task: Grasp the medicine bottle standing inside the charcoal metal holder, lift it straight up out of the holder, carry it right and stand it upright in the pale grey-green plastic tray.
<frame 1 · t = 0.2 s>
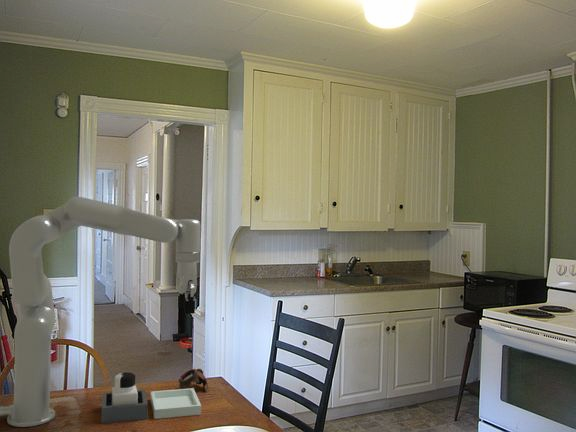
hand: (186, 310, 165), 31 cm above the table, tool pointing down, fingers open, 9 cm apart
holder: (124, 412, 157), on the table
tray: (174, 407, 163), on the table
pottery mug: (194, 390, 180), on the table
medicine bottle: (124, 413, 157), resting in holder
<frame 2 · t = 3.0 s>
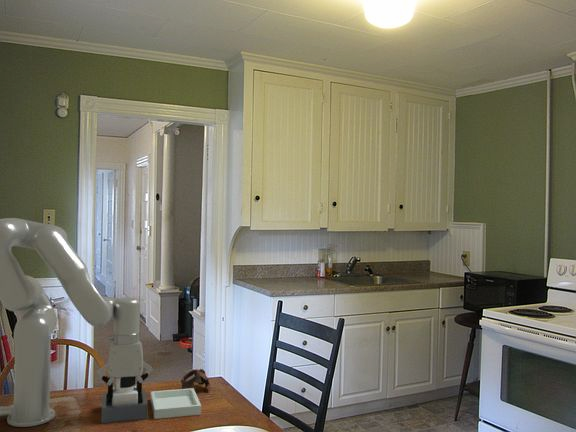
hand: (124, 395, 157), 5 cm above the table, tool pointing down, fingers closed on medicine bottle, 7 cm apart
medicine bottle: (124, 413, 158), resting in holder, touching gripper
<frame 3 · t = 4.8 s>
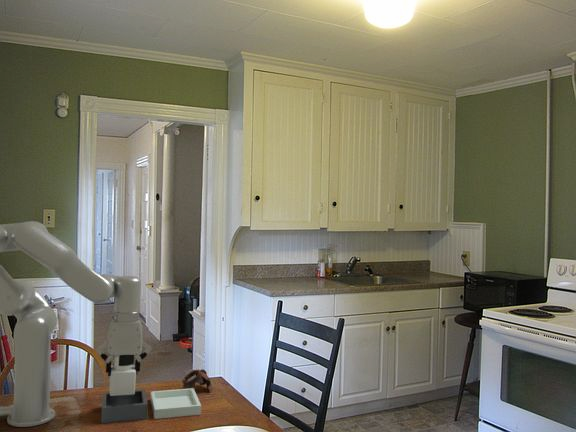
hand: (122, 373, 157), 12 cm above the table, tool pointing down, fingers closed on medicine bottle, 7 cm apart
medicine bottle: (121, 392, 157), point 6 cm above the table, touching gripper
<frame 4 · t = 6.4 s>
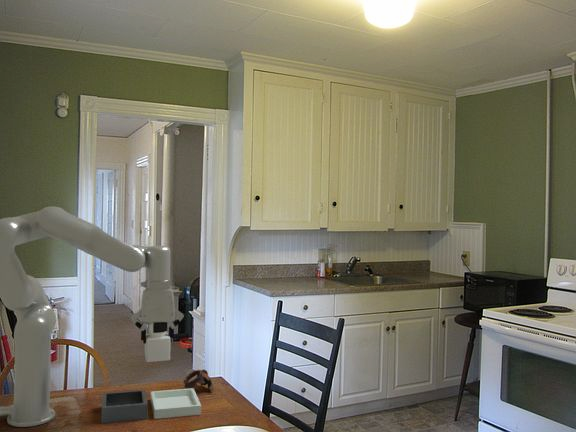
hand: (157, 341, 161), 21 cm above the table, tool pointing down, fingers closed on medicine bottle, 7 cm apart
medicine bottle: (157, 358, 161), point 16 cm above the table, touching gripper
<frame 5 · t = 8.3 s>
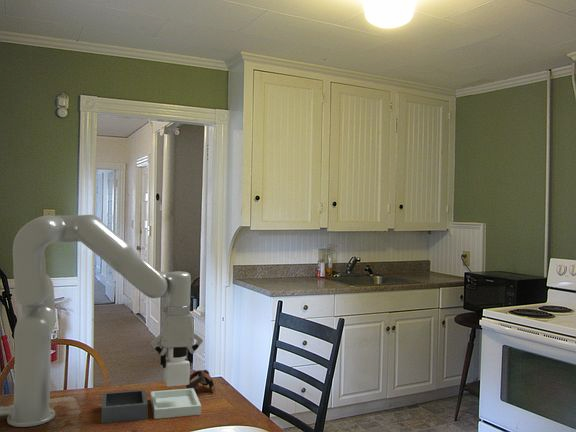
hand: (176, 365, 163), 13 cm above the table, tool pointing down, fingers closed on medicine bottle, 7 cm apart
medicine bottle: (176, 382, 163), point 8 cm above the table, touching gripper
when the fingers open (7 cm above the table, at t = 9.9 s): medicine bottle drops 1 cm, resting on tray.
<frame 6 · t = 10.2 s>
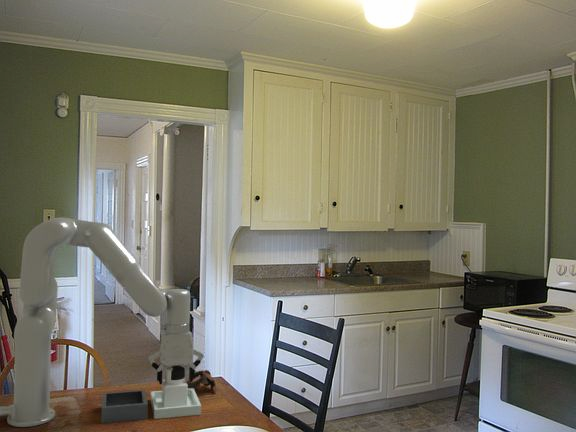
hand: (175, 381, 163), 8 cm above the table, tool pointing down, fingers open, 9 cm apart
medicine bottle: (174, 405, 163), point 1 cm above the table, touching tray
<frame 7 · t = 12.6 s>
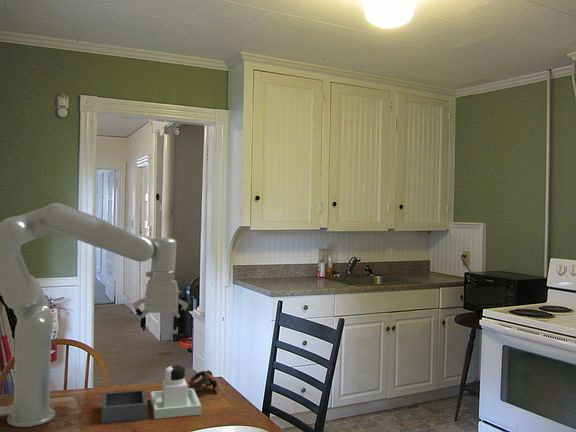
hand: (159, 329, 164), 24 cm above the table, tool pointing down, fingers open, 9 cm apart
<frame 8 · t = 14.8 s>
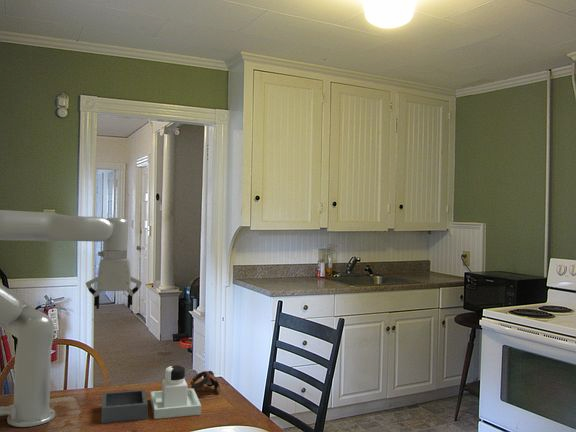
hand: (113, 307, 167), 30 cm above the table, tool pointing down, fingers open, 9 cm apart
at the end: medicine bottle inside the target area on the tray (0.3 cm from its centre), point 0.6 cm above the tray's base; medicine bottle tilted 0°; the gripper is holding nothing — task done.
